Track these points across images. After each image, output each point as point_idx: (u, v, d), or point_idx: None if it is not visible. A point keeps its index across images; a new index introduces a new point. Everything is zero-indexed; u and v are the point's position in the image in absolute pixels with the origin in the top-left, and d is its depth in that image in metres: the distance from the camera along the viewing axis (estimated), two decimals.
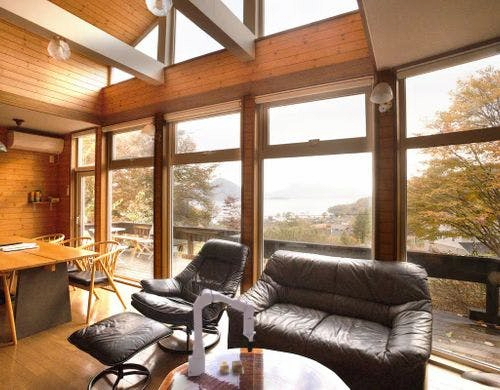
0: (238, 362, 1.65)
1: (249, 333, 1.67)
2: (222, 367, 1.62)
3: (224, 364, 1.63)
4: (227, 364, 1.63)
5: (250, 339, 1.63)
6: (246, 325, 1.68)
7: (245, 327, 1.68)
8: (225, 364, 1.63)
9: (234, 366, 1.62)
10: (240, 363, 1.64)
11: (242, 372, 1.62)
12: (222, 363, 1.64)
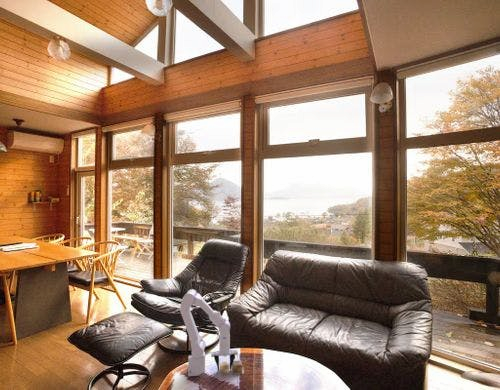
0: (238, 362, 1.65)
1: (219, 351, 1.64)
2: (222, 367, 1.62)
3: (224, 364, 1.63)
4: (227, 364, 1.63)
5: (211, 354, 1.63)
6: (221, 344, 1.62)
7: None
8: (225, 364, 1.63)
9: (234, 366, 1.62)
10: (240, 363, 1.64)
11: (242, 372, 1.62)
12: (222, 363, 1.64)
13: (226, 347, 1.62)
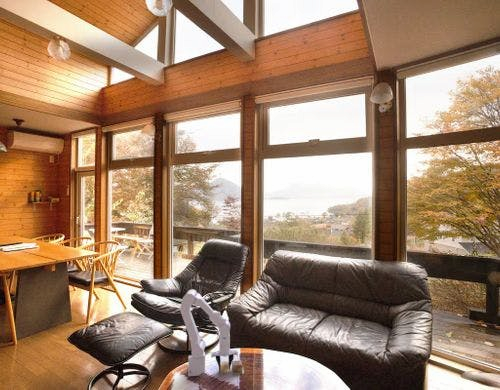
0: (238, 362, 1.65)
1: (219, 351, 1.64)
2: (222, 367, 1.62)
3: (224, 364, 1.63)
4: (227, 364, 1.63)
5: (211, 354, 1.63)
6: (221, 344, 1.62)
7: None
8: (225, 364, 1.63)
9: (234, 366, 1.62)
10: (240, 363, 1.64)
11: (242, 372, 1.62)
12: (222, 363, 1.64)
13: (226, 347, 1.62)
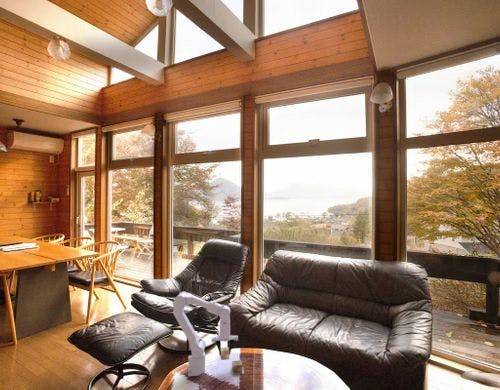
0: (238, 362, 1.65)
1: (219, 336, 1.64)
2: (222, 352, 1.62)
3: (224, 350, 1.64)
4: (227, 349, 1.64)
5: None
6: (221, 329, 1.63)
7: None
8: (225, 350, 1.64)
9: (234, 366, 1.62)
10: (240, 363, 1.64)
11: (242, 372, 1.62)
12: (222, 349, 1.65)
13: (226, 332, 1.63)
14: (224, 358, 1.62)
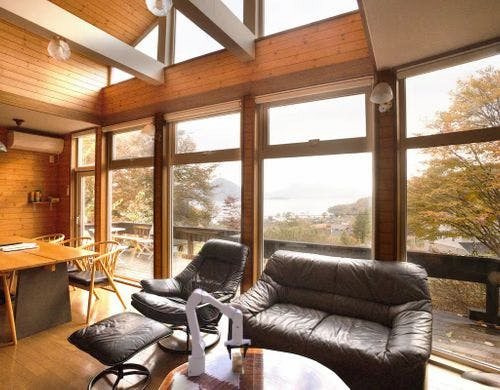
0: None
1: (232, 340, 1.65)
2: (235, 358, 1.62)
3: (237, 355, 1.64)
4: (240, 355, 1.64)
5: (224, 343, 1.64)
6: (234, 334, 1.63)
7: None
8: (238, 355, 1.64)
9: (234, 366, 1.62)
10: None
11: (242, 372, 1.62)
12: (235, 354, 1.65)
13: (239, 336, 1.63)
14: (237, 363, 1.62)
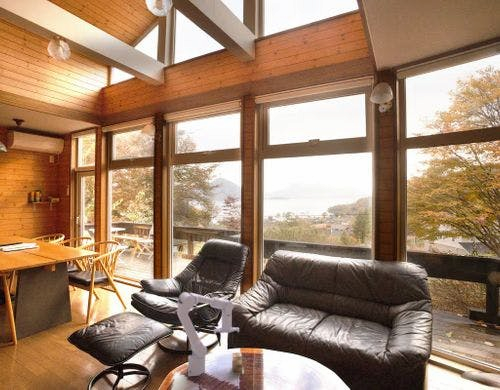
0: None
1: (221, 328, 1.73)
2: (235, 358, 1.62)
3: (237, 355, 1.64)
4: (240, 355, 1.64)
5: (214, 331, 1.73)
6: (225, 322, 1.71)
7: None
8: (238, 355, 1.64)
9: (234, 366, 1.62)
10: None
11: (242, 372, 1.62)
12: (235, 354, 1.65)
13: (228, 324, 1.72)
14: (237, 363, 1.62)
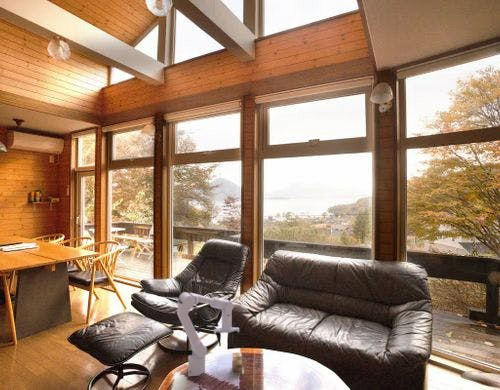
0: None
1: (221, 328, 1.73)
2: (235, 358, 1.62)
3: (237, 355, 1.64)
4: (240, 355, 1.64)
5: (214, 331, 1.73)
6: (225, 322, 1.71)
7: None
8: (238, 355, 1.64)
9: (234, 366, 1.62)
10: None
11: (242, 372, 1.62)
12: (235, 354, 1.65)
13: (228, 324, 1.72)
14: (237, 363, 1.62)
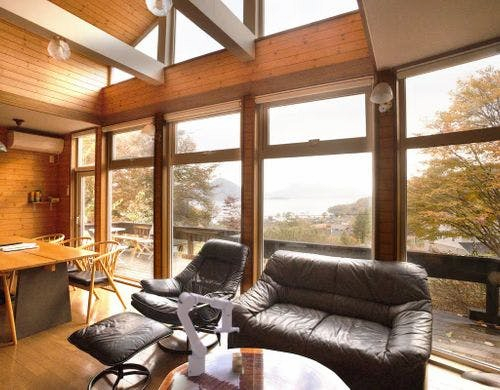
0: None
1: (221, 328, 1.73)
2: (235, 358, 1.62)
3: (237, 355, 1.64)
4: (240, 355, 1.64)
5: (214, 331, 1.73)
6: (225, 322, 1.71)
7: None
8: (238, 355, 1.64)
9: (234, 366, 1.62)
10: None
11: (242, 372, 1.62)
12: (235, 354, 1.65)
13: (228, 324, 1.72)
14: (237, 363, 1.62)
